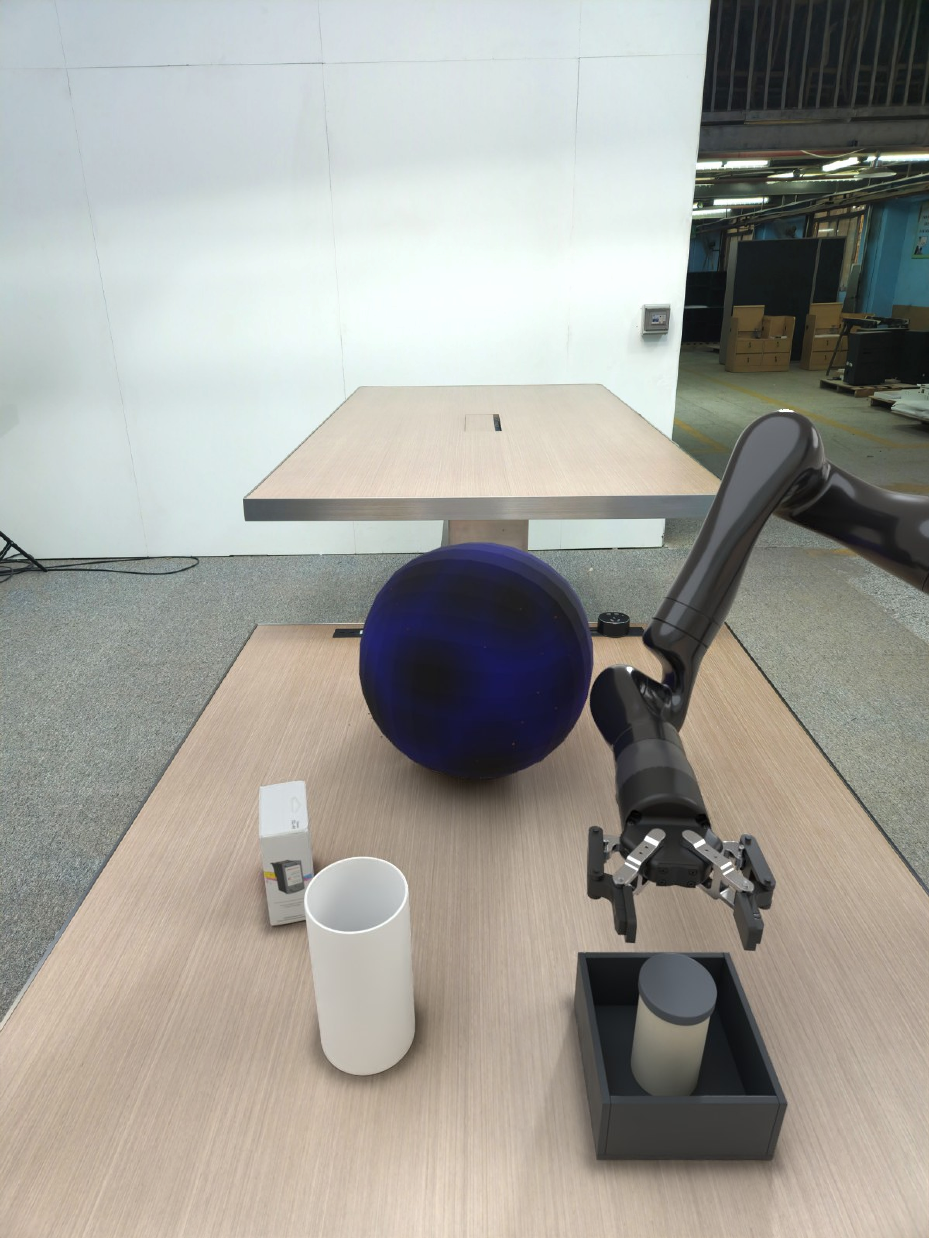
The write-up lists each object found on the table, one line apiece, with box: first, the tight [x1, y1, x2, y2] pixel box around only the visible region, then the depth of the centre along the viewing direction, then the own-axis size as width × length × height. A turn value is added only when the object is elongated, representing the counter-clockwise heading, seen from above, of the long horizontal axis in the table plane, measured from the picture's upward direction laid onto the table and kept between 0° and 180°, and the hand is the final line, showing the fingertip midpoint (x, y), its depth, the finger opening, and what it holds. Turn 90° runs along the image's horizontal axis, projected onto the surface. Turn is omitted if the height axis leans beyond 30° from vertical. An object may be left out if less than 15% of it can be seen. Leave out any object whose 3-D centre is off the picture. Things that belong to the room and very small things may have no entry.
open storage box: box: [573, 951, 789, 1161], centre depth 61 cm, size 13×13×7 cm
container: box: [631, 953, 717, 1096], centre depth 60 cm, size 6×6×10 cm
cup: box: [304, 856, 416, 1076], centre depth 63 cm, size 8×8×16 cm
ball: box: [348, 529, 595, 780], centre depth 99 cm, size 35×31×30 cm
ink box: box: [258, 779, 315, 926], centre depth 78 cm, size 9×5×12 cm, turn 14°
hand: (691, 938), depth 54 cm, fingers open, 8 cm apart
